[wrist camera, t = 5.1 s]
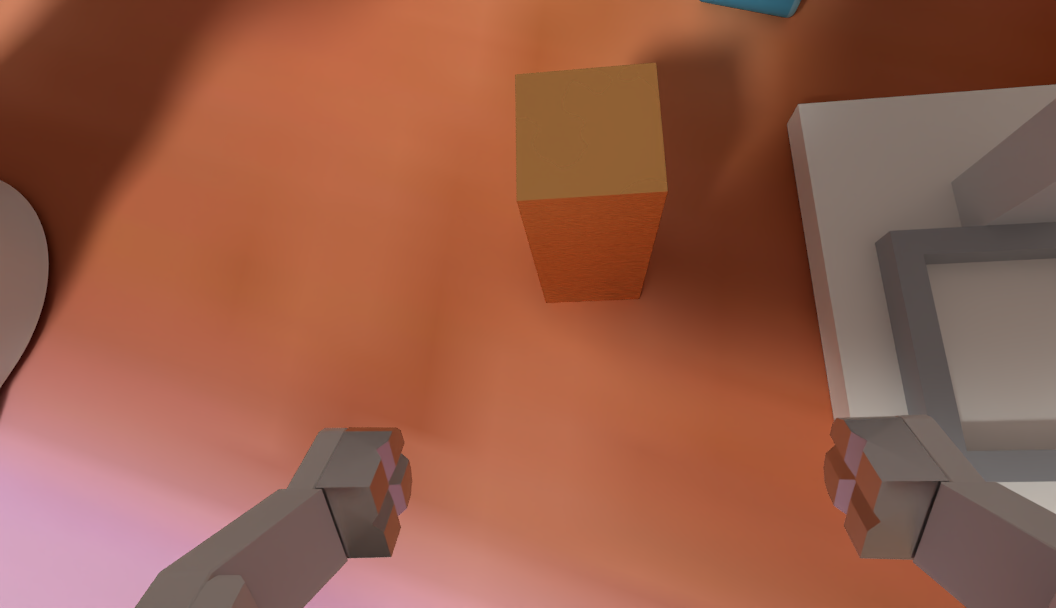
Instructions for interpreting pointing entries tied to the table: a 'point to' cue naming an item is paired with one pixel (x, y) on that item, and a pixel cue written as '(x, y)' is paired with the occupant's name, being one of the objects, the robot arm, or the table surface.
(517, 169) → the wooden square pillar
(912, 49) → the table surface
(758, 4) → the data package
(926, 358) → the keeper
